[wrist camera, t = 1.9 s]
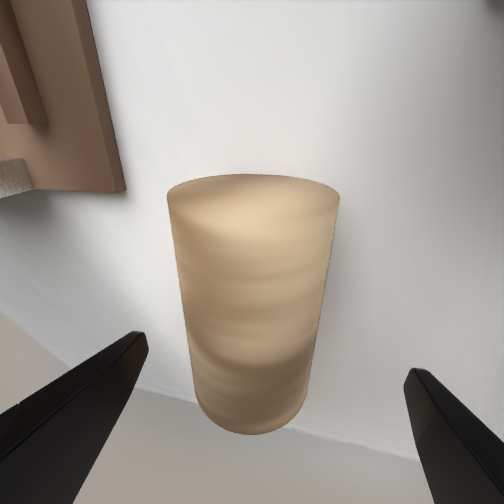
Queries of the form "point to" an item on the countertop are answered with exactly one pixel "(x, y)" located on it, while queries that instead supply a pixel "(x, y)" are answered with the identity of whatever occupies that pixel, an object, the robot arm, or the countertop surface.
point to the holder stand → (53, 102)
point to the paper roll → (252, 291)
